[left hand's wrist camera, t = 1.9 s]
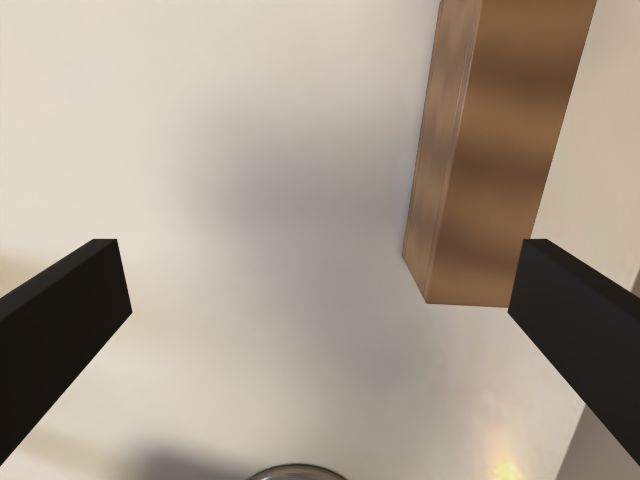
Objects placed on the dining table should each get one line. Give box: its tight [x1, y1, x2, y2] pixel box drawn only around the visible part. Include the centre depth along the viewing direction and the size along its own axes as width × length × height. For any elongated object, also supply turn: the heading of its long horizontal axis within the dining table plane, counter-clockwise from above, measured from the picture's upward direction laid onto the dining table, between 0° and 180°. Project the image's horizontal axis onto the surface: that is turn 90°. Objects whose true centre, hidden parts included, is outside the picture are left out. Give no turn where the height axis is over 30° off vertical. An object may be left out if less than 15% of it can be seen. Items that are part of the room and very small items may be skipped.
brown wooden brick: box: [402, 0, 597, 308], centre depth 26 cm, size 19×6×8 cm, turn 177°
